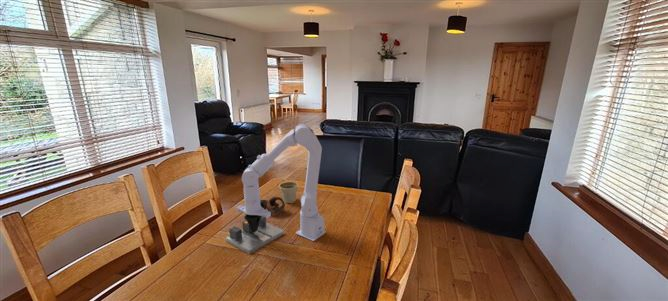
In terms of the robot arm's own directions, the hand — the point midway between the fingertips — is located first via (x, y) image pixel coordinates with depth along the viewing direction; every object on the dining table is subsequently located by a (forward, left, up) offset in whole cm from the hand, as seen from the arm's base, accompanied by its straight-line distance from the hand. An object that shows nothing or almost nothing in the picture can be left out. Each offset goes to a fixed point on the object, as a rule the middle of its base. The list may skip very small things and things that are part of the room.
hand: (254, 230), depth 112 cm
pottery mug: (+11, -19, -3) cm, 22 cm away
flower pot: (+13, -32, -3) cm, 35 cm away
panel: (0, 0, -3) cm, 3 cm away
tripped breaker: (+4, 0, -1) cm, 4 cm away
